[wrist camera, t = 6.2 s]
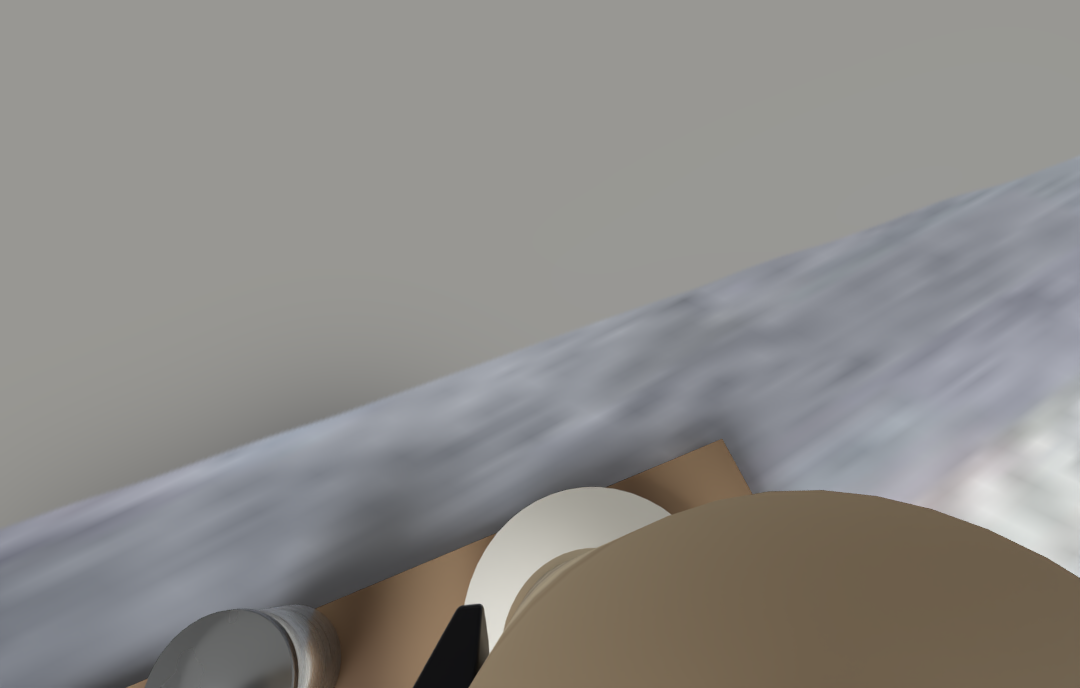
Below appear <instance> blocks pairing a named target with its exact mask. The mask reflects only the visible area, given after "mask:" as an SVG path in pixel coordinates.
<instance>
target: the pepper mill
mask: <svg viewBox="0 0 1080 688" xmlns="http://www.w3.org/2000/svg"><path fill="white" fill-rule="evenodd" d="M469 688H1080V578H1079V577H1077V576H1076V575H1074V574H1072V573H1071V572H1069V571H1067V570H1066V569H1064V568H1063V567H1061V566H1059V565H1058V564H1056V563H1054V562H1053V561H1051V560H1049V559H1048V558H1046V557H1044V556H1042V555H1040V554H1038V553H1036V552H1034V551H1031V550H1029V549H1027V548H1025V547H1023V546H1021V545H1019V544H1017V543H1015V542H1013V541H1011V540H1009V539H1007V538H1005V537H1003V536H1001V535H998V534H996V533H994V532H992V531H990V530H988V529H985V528H982V527H980V526H977V525H974V524H971V523H969V522H966V521H963V520H960V519H957V518H955V517H952V516H949V515H946V514H944V513H941V512H938V511H935V510H932V509H929V508H924V507H920V506H916V505H912V504H907V503H903V502H899V501H895V500H890V499H886V498H882V497H878V496H871V495H861V494H852V493H843V492H834V491H824V490H811V491H771V492H763V493H757V494H751V495H745V496H739V497H733V498H727V499H721V500H716V501H713V502H710V503H707V504H704V505H701V506H698V507H695V508H691V509H688V510H685V511H682V512H679V513H676V514H673V515H669V516H667V517H665V518H662V519H660V520H658V521H656V522H653V523H651V524H649V525H647V526H644V527H642V528H640V529H638V530H635V531H633V532H631V533H629V534H626V535H624V536H622V537H620V538H617V539H615V540H613V541H611V542H608V543H606V544H604V545H602V546H599V547H597V548H584V549H578V550H574V551H571V552H567V553H564V554H562V555H560V556H558V557H556V558H554V559H552V560H550V561H549V562H547V563H546V564H544V565H543V566H542V567H540V568H539V569H538V570H537V571H536V572H535V573H534V574H533V575H532V576H531V577H530V578H529V579H528V580H527V581H526V583H525V584H524V585H523V587H522V588H521V590H520V591H519V593H518V594H517V596H516V598H515V600H514V602H513V604H512V606H511V608H510V610H509V613H508V616H507V619H506V622H505V626H504V630H503V633H502V635H501V636H500V638H499V639H498V641H497V643H496V644H495V646H494V647H493V649H492V651H491V652H490V654H489V656H488V657H487V659H486V660H485V662H484V664H483V665H482V667H481V668H480V670H479V672H478V673H477V675H476V676H475V678H474V680H473V681H472V683H471V685H470V686H469Z"/></svg>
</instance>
